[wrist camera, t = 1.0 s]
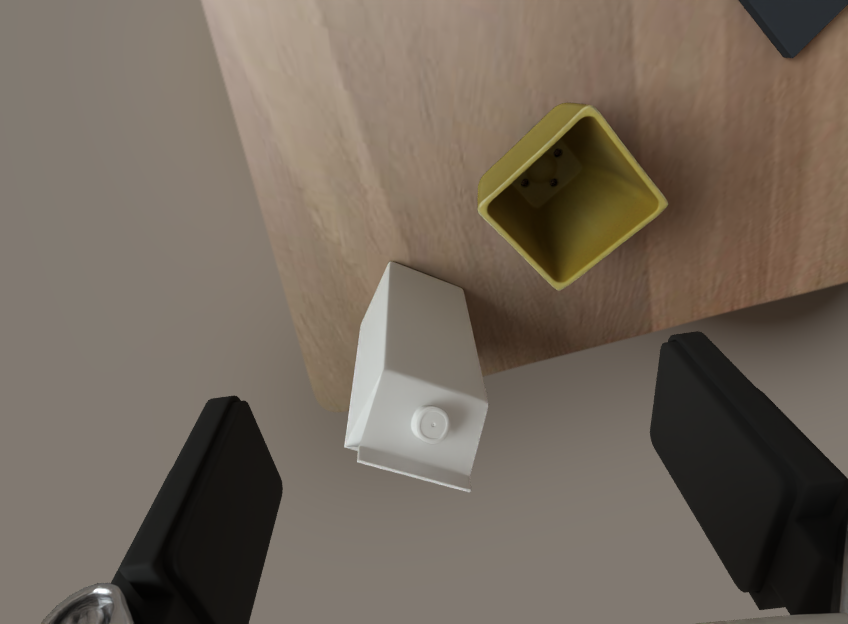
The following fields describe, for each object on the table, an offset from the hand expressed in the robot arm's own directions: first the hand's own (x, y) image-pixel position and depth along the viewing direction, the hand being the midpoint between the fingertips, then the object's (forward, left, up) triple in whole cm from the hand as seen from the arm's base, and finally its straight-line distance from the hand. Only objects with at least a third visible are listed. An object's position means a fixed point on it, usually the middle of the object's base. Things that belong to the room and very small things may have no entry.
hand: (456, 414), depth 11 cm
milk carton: (+8, -12, -30) cm, 33 cm away
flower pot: (+9, +4, -30) cm, 31 cm away
